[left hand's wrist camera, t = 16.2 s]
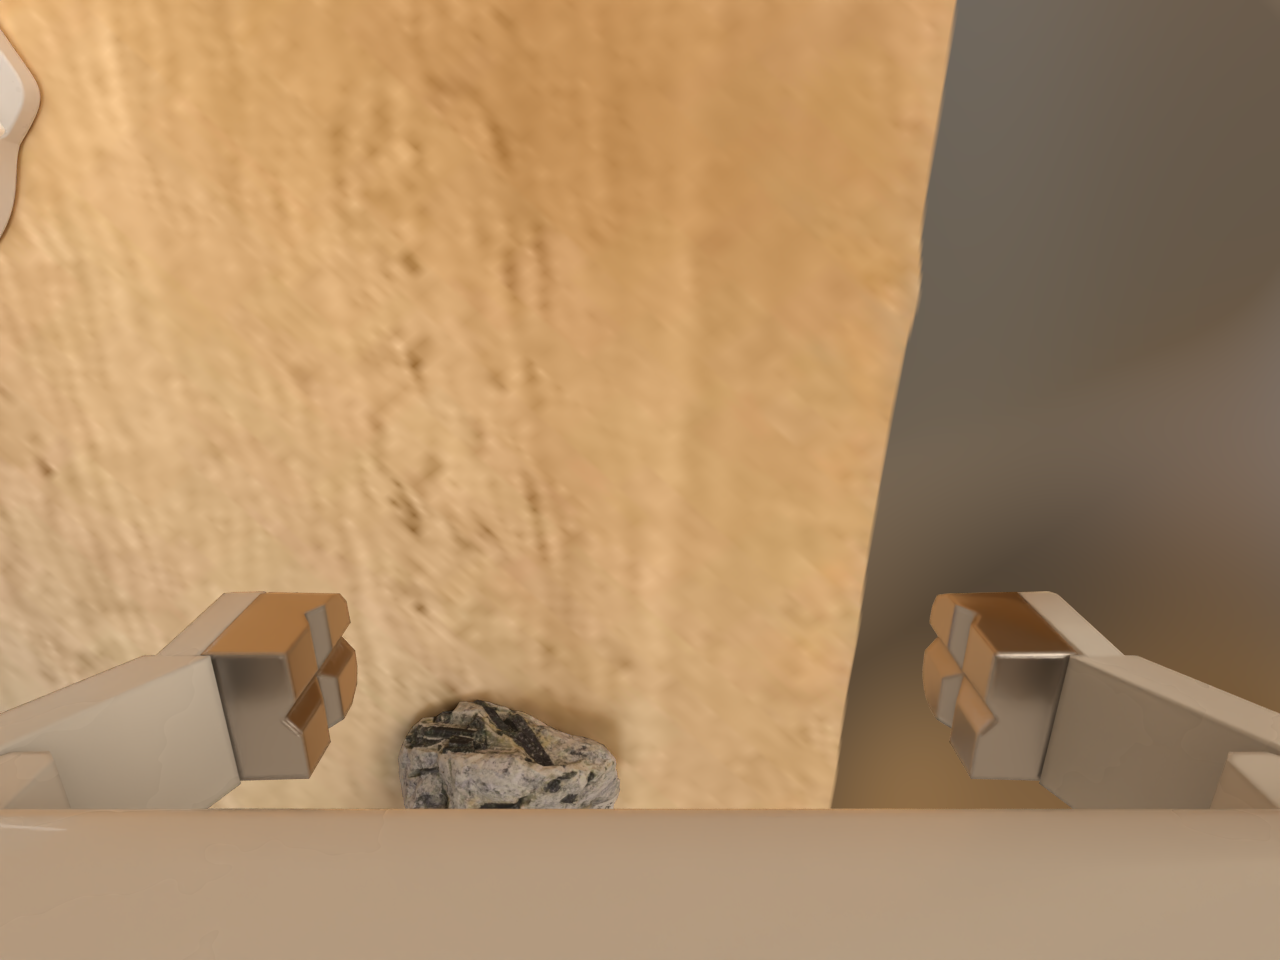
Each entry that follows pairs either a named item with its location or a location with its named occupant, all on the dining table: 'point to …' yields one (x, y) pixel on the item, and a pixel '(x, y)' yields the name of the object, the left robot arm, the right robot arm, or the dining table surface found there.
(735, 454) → the dining table surface
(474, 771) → the rock
